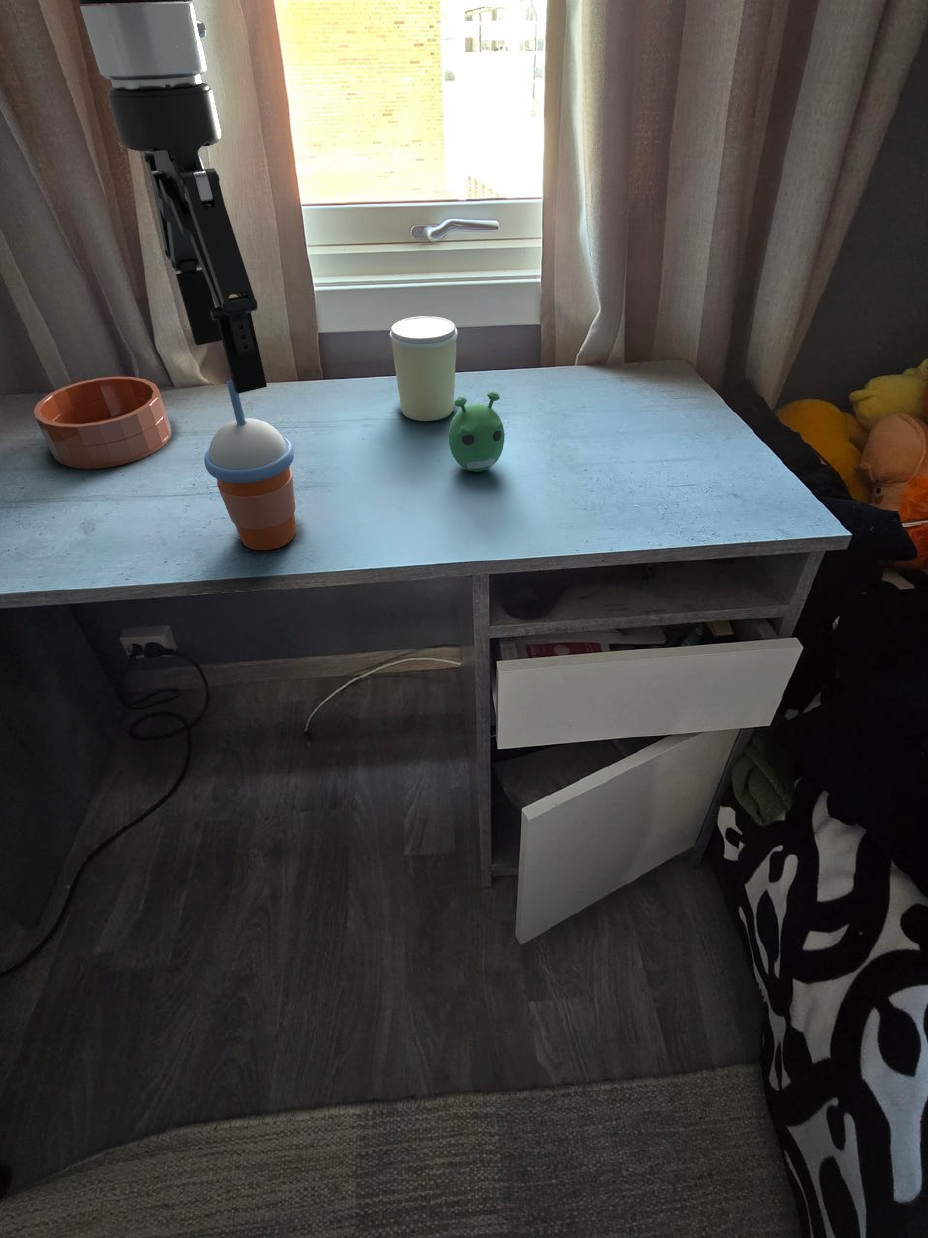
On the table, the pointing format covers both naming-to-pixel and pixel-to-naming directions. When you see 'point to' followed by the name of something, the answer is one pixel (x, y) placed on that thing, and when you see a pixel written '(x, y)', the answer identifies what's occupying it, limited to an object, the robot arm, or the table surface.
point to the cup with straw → (254, 478)
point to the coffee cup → (425, 366)
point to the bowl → (104, 422)
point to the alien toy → (476, 434)
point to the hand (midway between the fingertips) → (228, 364)
